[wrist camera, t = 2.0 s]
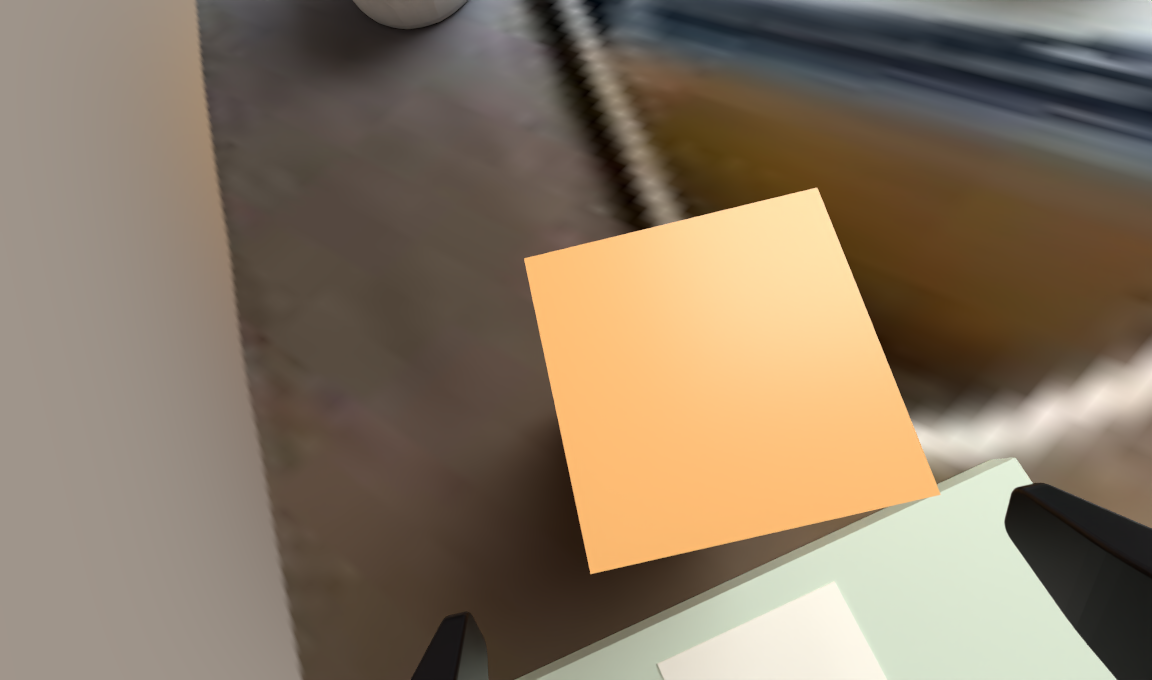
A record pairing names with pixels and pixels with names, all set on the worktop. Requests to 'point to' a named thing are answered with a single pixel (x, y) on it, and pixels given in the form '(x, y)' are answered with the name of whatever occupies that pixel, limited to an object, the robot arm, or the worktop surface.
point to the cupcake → (409, 11)
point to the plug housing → (719, 383)
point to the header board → (867, 606)
